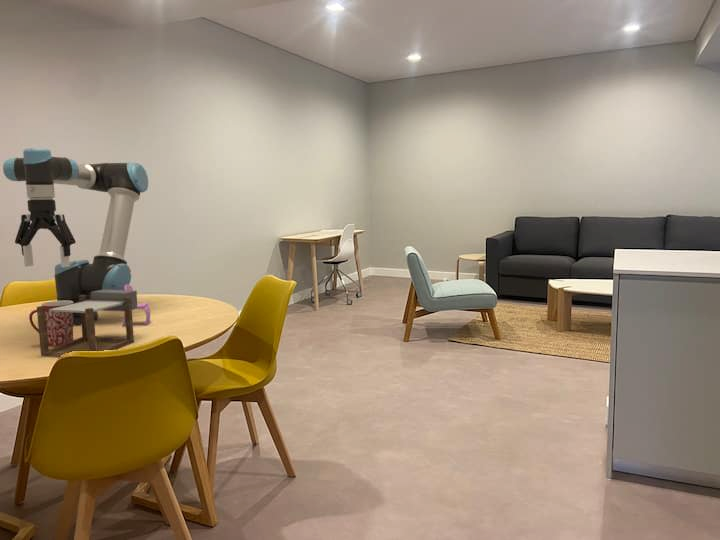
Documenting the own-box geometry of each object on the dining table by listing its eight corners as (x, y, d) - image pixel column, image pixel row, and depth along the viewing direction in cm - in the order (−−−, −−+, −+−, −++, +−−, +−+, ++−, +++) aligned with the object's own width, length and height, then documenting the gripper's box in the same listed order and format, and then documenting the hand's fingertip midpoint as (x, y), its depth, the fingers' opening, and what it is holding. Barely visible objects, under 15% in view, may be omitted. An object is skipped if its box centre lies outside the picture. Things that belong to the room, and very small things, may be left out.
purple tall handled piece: (146, 326, 198) (143, 286, 196) (121, 327, 197) (118, 286, 195) (151, 321, 206) (149, 282, 204) (127, 322, 205) (124, 283, 203)
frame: (40, 355, 163) (36, 307, 161) (85, 339, 181) (82, 295, 179) (94, 359, 159) (90, 309, 157) (134, 341, 178) (131, 296, 175)
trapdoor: (49, 320, 163) (48, 300, 162) (102, 306, 186) (101, 289, 185) (90, 322, 160) (88, 302, 159) (138, 308, 183) (137, 290, 182)
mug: (76, 338, 183) (73, 299, 181) (76, 345, 174) (72, 303, 173) (33, 343, 177) (29, 302, 175) (30, 350, 169) (26, 308, 167)
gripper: (-3, 199, 168) (4, 267, 171) (66, 198, 163) (72, 268, 166) (17, 199, 175) (23, 264, 178) (84, 198, 170) (89, 265, 173)
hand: (47, 266), depth 172 cm, fingers open, 13 cm apart
